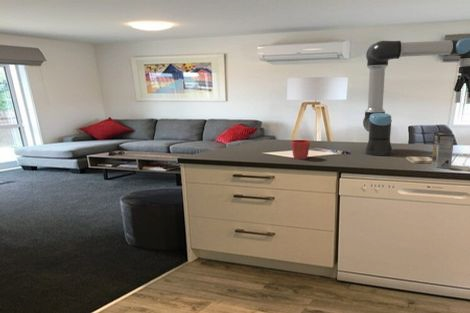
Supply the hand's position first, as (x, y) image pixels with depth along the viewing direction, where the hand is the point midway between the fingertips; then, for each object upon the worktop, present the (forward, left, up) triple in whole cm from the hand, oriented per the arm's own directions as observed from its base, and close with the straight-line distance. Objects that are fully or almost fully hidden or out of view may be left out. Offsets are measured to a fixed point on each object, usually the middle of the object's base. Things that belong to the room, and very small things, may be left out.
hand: (462, 103), depth 199 cm
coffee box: (-28, -46, -28) cm, 61 cm away
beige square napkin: (-33, -34, -28) cm, 55 cm away
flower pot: (-95, -27, -28) cm, 103 cm away
